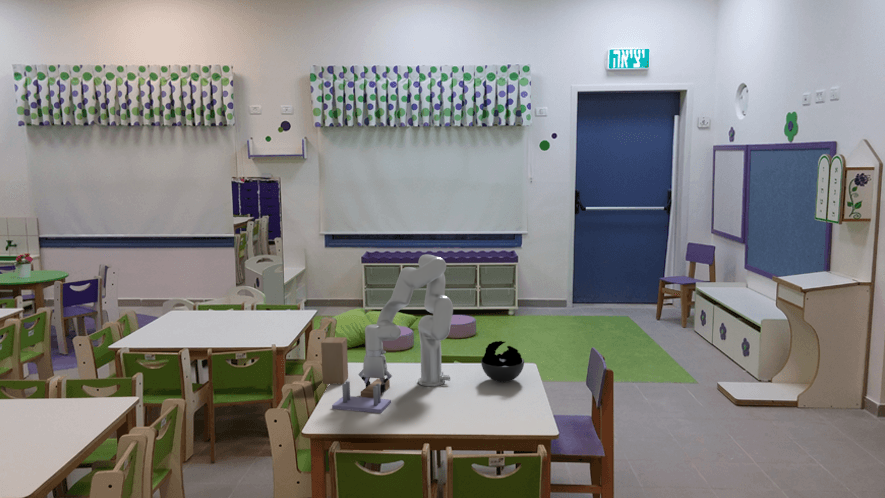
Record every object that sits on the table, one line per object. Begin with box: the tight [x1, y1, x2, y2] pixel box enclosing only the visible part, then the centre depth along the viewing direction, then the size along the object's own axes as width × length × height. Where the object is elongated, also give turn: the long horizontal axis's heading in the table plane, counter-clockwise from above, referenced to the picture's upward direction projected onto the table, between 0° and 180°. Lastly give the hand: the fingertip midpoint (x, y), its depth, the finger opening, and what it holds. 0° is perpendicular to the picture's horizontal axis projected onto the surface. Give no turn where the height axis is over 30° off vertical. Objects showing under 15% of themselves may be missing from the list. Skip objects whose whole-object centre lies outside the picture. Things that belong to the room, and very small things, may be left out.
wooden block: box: [320, 336, 349, 385], centre depth 327 cm, size 10×10×20 cm
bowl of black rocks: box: [480, 340, 525, 383], centre depth 322 cm, size 20×20×19 cm
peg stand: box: [331, 380, 392, 414], centre depth 294 cm, size 22×12×10 cm, turn 74°
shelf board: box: [360, 378, 391, 398], centre depth 309 cm, size 18×6×4 cm, turn 161°
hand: (375, 391), depth 310 cm, fingers closed on shelf board, 6 cm apart
